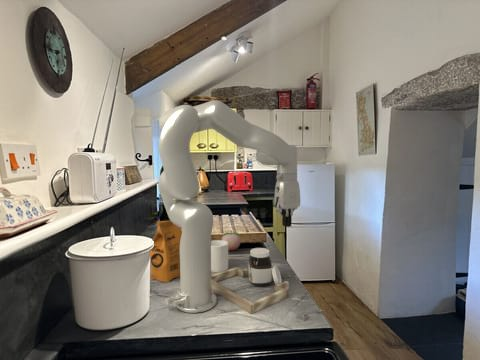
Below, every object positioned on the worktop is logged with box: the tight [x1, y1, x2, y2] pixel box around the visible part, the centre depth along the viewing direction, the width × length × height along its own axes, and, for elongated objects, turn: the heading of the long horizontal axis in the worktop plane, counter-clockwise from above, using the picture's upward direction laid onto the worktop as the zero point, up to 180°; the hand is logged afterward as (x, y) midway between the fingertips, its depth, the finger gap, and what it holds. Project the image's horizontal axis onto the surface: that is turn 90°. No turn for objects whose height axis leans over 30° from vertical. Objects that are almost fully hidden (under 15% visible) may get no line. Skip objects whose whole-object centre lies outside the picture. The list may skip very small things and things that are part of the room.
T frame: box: [211, 266, 290, 315], centre depth 99 cm, size 20×25×2 cm
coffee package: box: [149, 219, 182, 283], centre depth 109 cm, size 10×12×22 cm
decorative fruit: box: [221, 230, 242, 252], centre depth 138 cm, size 9×8×10 cm
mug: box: [211, 239, 229, 274], centre depth 118 cm, size 9×12×11 cm
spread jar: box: [248, 247, 283, 287], centre depth 103 cm, size 12×11×12 cm
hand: (286, 225), depth 110 cm, fingers closed
